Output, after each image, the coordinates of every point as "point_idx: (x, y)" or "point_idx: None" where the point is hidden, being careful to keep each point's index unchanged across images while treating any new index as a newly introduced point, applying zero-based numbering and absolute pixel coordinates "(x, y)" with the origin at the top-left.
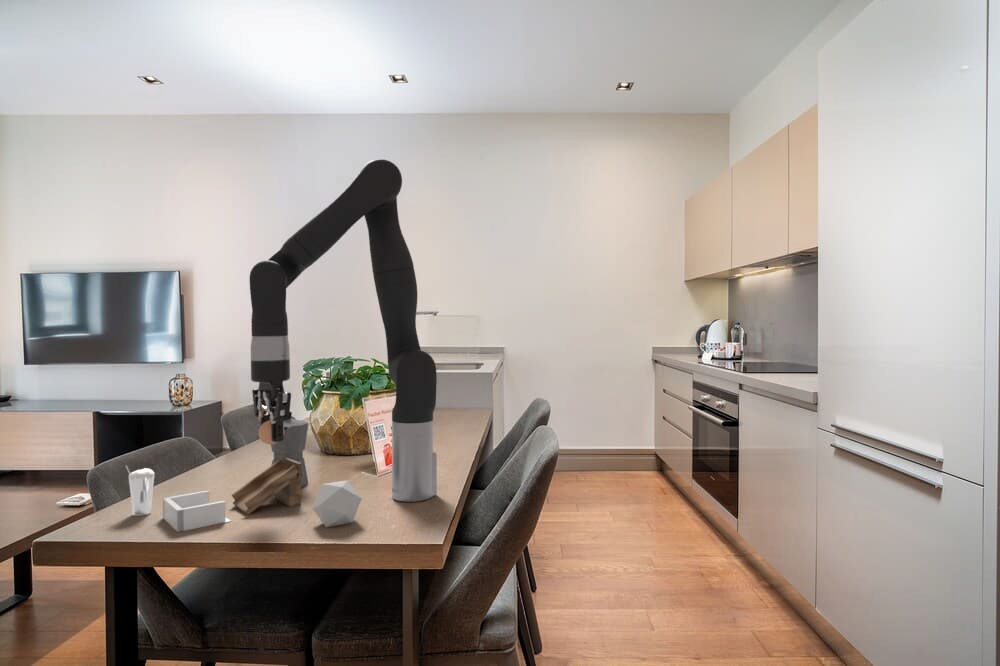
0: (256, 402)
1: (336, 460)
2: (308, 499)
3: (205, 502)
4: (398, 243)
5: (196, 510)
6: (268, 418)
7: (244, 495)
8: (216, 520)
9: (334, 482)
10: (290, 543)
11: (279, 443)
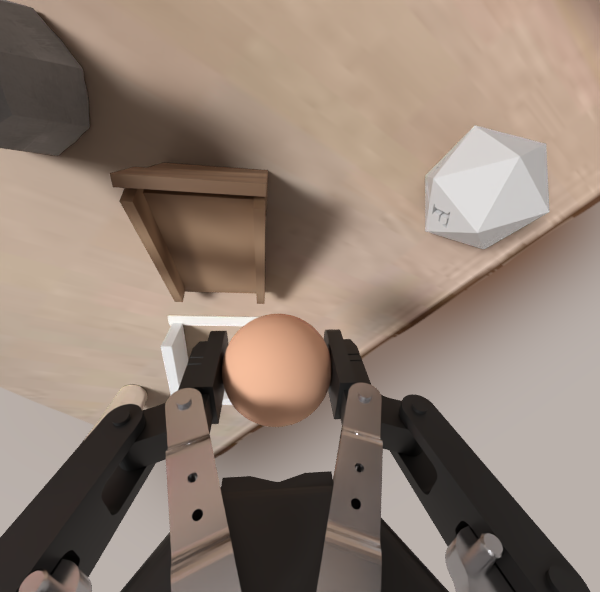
0: (104, 543)
1: None
2: (238, 129)
3: (179, 338)
4: None
5: None
6: (207, 408)
7: (184, 277)
8: None
9: (499, 200)
10: (456, 292)
11: None
